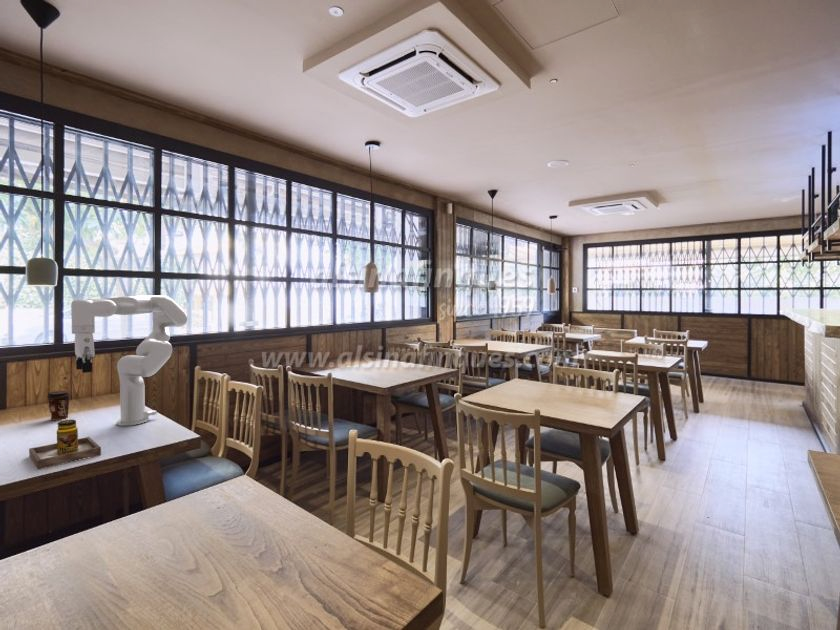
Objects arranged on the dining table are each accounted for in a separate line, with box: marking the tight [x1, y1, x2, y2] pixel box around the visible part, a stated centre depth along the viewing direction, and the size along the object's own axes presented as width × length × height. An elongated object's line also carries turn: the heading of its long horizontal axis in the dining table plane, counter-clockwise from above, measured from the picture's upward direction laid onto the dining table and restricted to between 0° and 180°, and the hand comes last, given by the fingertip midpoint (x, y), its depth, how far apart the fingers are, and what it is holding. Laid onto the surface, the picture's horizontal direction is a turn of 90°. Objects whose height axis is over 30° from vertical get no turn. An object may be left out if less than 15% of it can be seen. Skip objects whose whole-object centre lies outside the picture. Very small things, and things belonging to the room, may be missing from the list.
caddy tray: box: [28, 436, 102, 470], centre depth 160 cm, size 18×17×3 cm
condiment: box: [48, 419, 84, 456], centre depth 161 cm, size 7×8×12 cm
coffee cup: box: [47, 390, 71, 421], centre depth 204 cm, size 9×8×13 cm
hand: (84, 370), depth 179 cm, fingers open, 9 cm apart
